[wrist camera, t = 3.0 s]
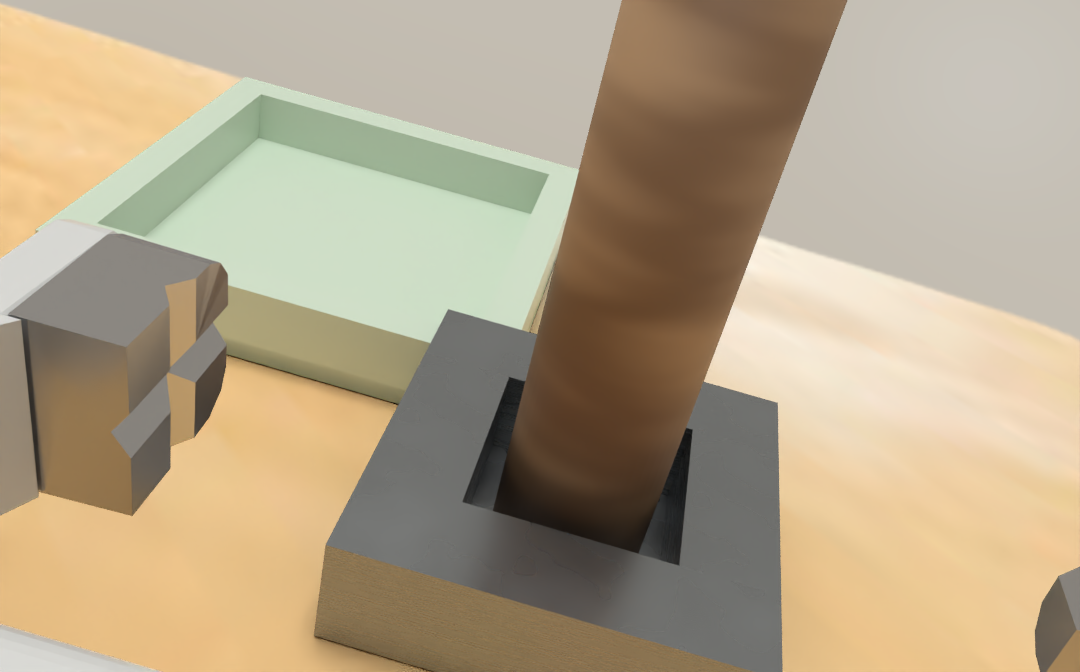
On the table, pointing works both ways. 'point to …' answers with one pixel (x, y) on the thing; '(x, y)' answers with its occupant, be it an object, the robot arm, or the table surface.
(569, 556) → the socket block
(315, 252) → the tray
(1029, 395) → the table surface
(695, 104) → the dowel
